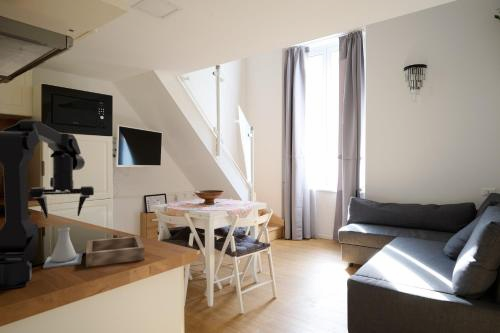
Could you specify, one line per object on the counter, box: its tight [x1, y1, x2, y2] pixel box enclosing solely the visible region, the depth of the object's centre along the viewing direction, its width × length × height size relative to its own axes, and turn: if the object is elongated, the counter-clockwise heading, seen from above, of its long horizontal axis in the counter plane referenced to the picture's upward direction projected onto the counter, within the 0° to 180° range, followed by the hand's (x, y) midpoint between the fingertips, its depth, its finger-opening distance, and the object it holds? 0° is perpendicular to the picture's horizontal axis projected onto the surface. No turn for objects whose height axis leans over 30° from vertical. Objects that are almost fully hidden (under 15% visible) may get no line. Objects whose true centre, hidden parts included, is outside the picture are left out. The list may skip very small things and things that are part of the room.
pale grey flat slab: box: [42, 252, 83, 269], centre depth 100 cm, size 10×10×1 cm
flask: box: [50, 226, 78, 262], centre depth 100 cm, size 7×7×10 cm
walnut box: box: [85, 235, 145, 268], centre depth 107 cm, size 17×17×4 cm
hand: (63, 216), depth 107 cm, fingers open, 9 cm apart
